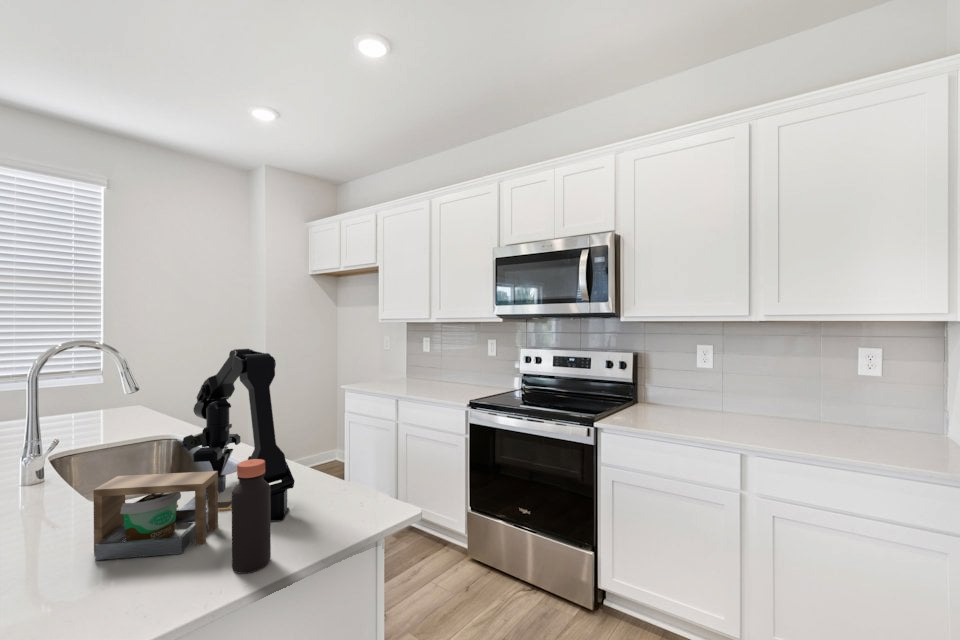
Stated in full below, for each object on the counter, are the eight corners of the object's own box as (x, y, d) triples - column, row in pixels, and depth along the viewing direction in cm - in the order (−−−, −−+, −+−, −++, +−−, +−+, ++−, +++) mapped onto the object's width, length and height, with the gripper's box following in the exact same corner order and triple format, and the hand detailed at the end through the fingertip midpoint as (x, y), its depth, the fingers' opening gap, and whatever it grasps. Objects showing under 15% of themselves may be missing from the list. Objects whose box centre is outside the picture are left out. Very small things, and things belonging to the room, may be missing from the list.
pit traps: (236, 502, 119) (236, 500, 119) (229, 510, 114) (229, 508, 114) (156, 507, 116) (156, 505, 116) (145, 515, 111) (145, 513, 111)
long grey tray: (242, 487, 128) (242, 473, 128) (181, 553, 93) (181, 533, 93) (181, 491, 125) (181, 477, 125) (95, 560, 90) (95, 539, 90)
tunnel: (218, 527, 105) (217, 471, 105) (203, 544, 97) (202, 483, 97) (117, 534, 101) (117, 476, 101) (93, 552, 93) (93, 489, 93)
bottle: (246, 554, 93) (246, 456, 93) (277, 556, 92) (277, 458, 92) (223, 572, 86) (223, 467, 86) (256, 575, 85) (256, 469, 85)
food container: (145, 555, 92) (144, 506, 92) (120, 552, 94) (120, 504, 94) (194, 527, 104) (194, 484, 104) (172, 525, 106) (171, 482, 106)
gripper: (201, 416, 138) (201, 467, 138) (170, 431, 120) (171, 491, 120) (240, 415, 140) (241, 465, 140) (216, 430, 122) (216, 488, 122)
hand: (218, 476), depth 131 cm, fingers closed
